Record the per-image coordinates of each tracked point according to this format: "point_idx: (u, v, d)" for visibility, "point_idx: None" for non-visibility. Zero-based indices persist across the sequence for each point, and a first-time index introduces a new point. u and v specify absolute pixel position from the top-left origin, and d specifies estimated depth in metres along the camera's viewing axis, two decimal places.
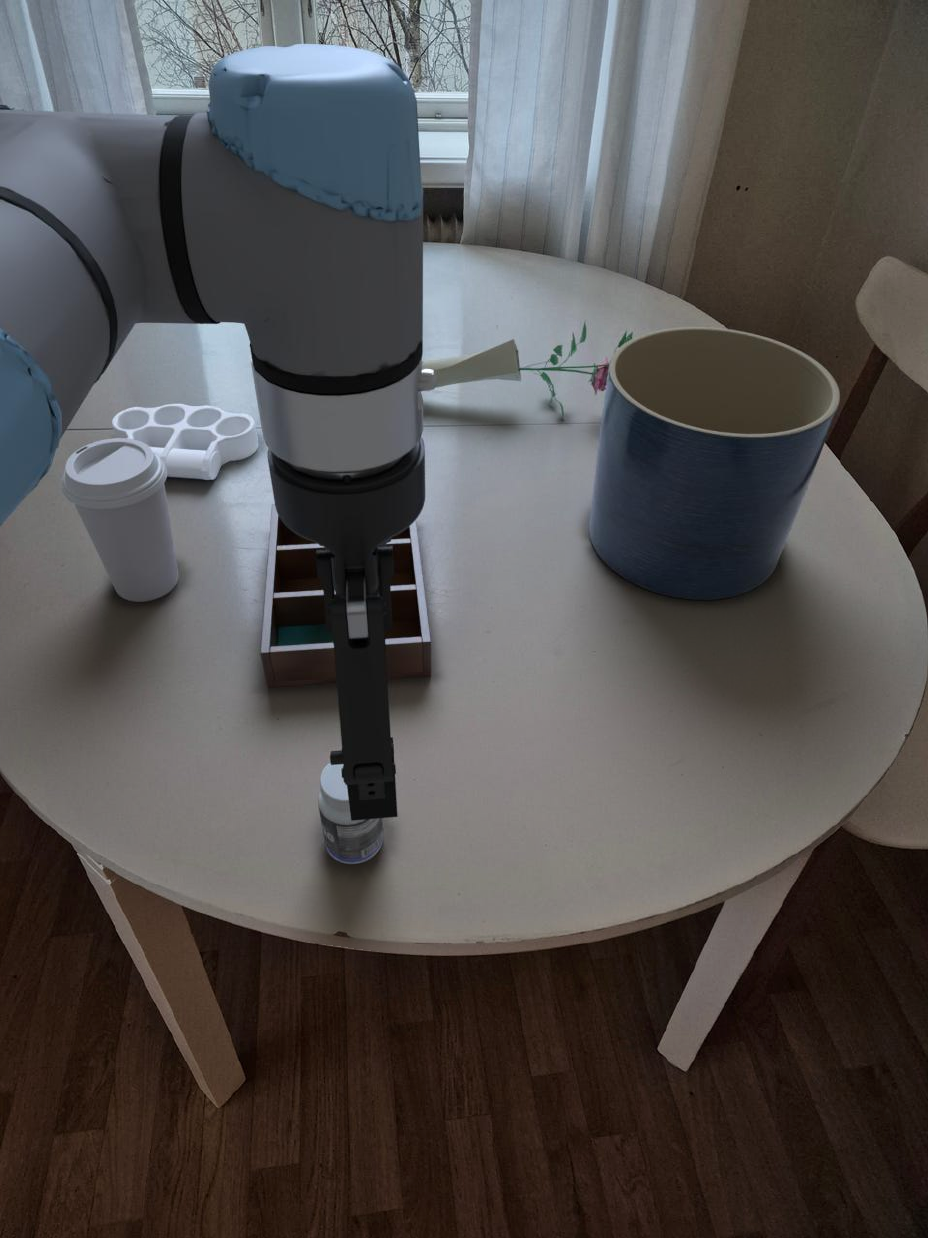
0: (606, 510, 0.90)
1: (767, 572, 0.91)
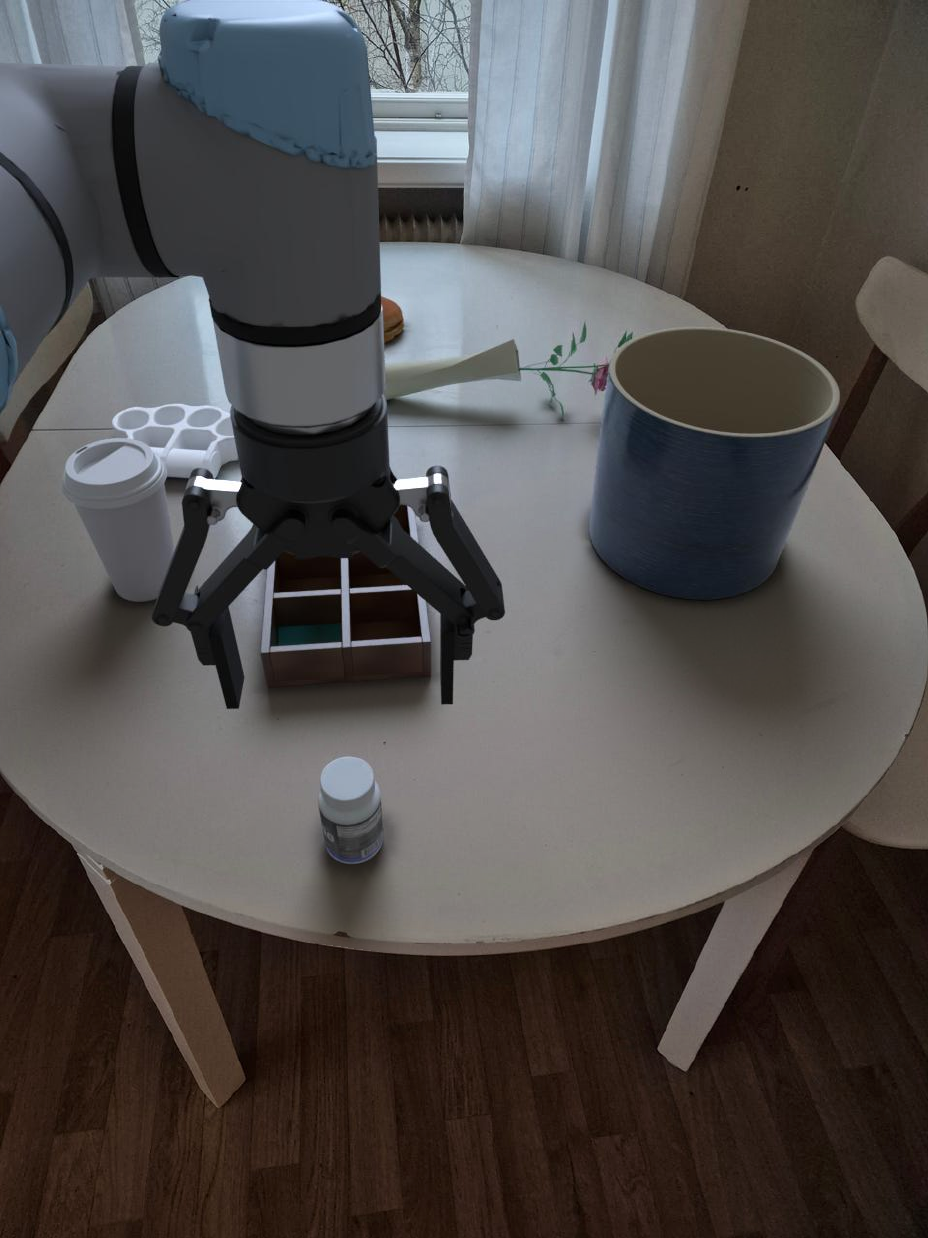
0: (606, 510, 0.90)
1: (767, 572, 0.91)
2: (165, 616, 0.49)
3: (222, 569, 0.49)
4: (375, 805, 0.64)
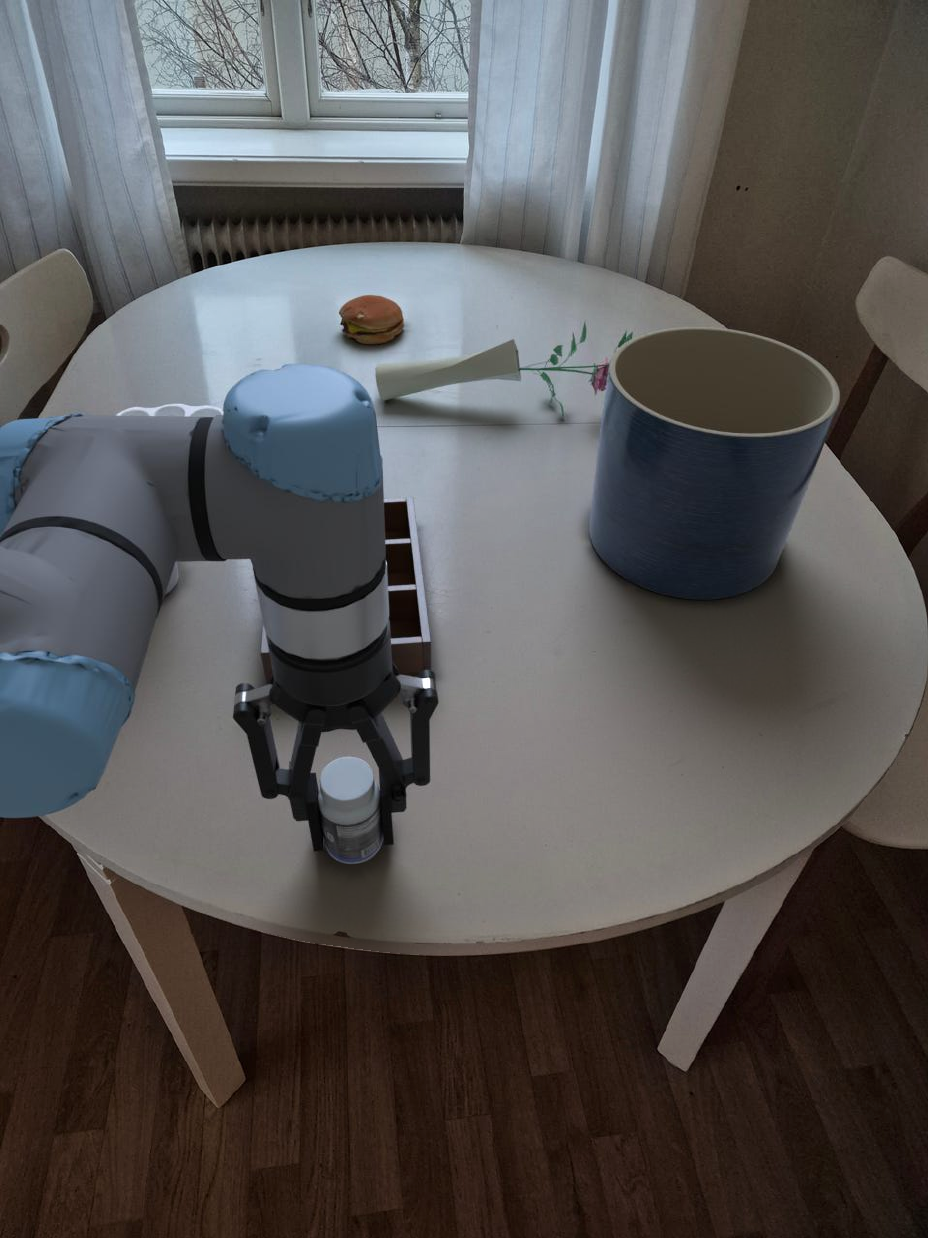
0: (606, 510, 0.90)
1: (767, 572, 0.91)
2: (270, 792, 0.61)
3: (294, 750, 0.61)
4: (375, 805, 0.64)
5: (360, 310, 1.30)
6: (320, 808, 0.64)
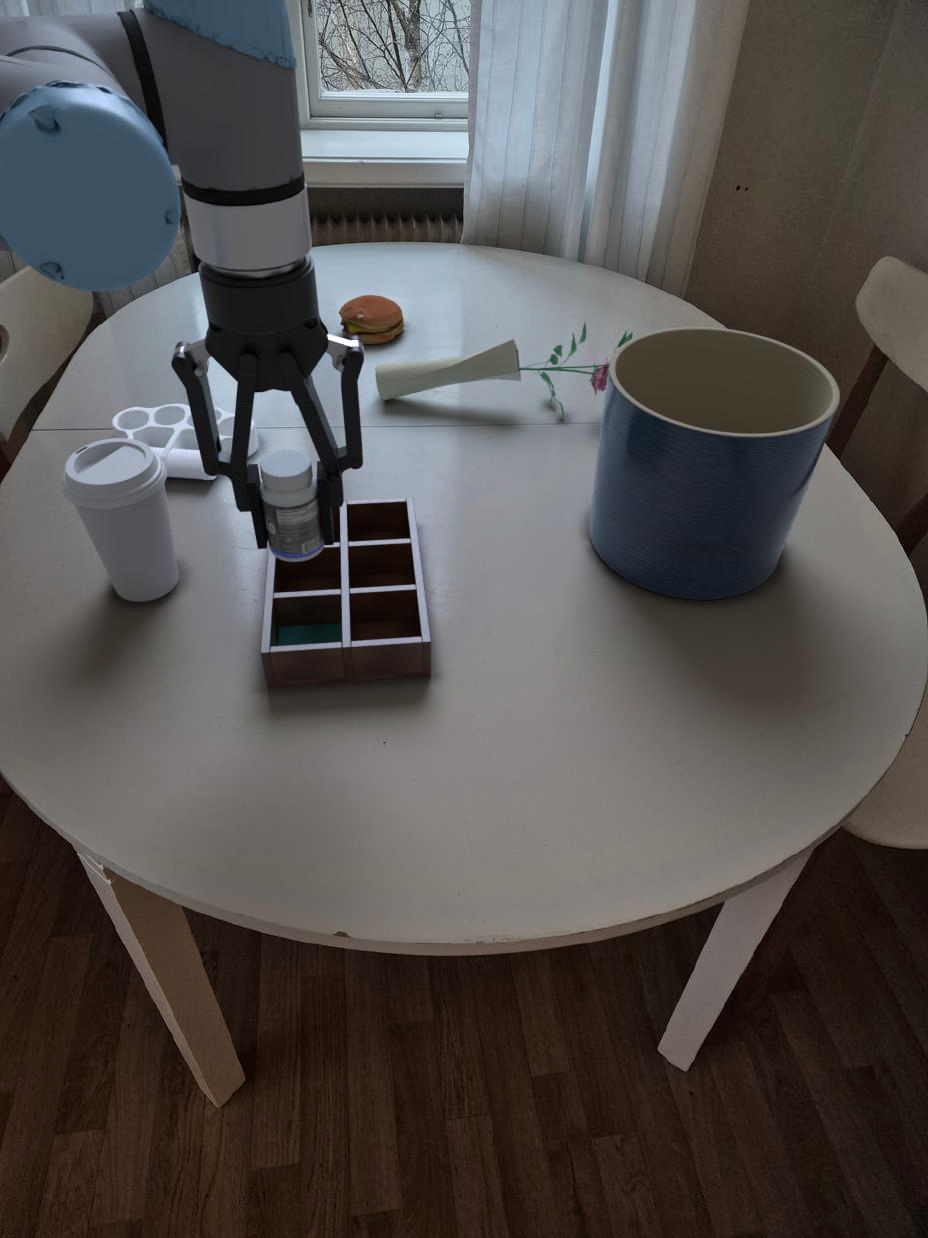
0: (606, 510, 0.90)
1: (767, 572, 0.91)
2: (212, 466, 0.65)
3: None
4: (313, 492, 0.68)
5: (360, 310, 1.30)
6: (261, 494, 0.68)
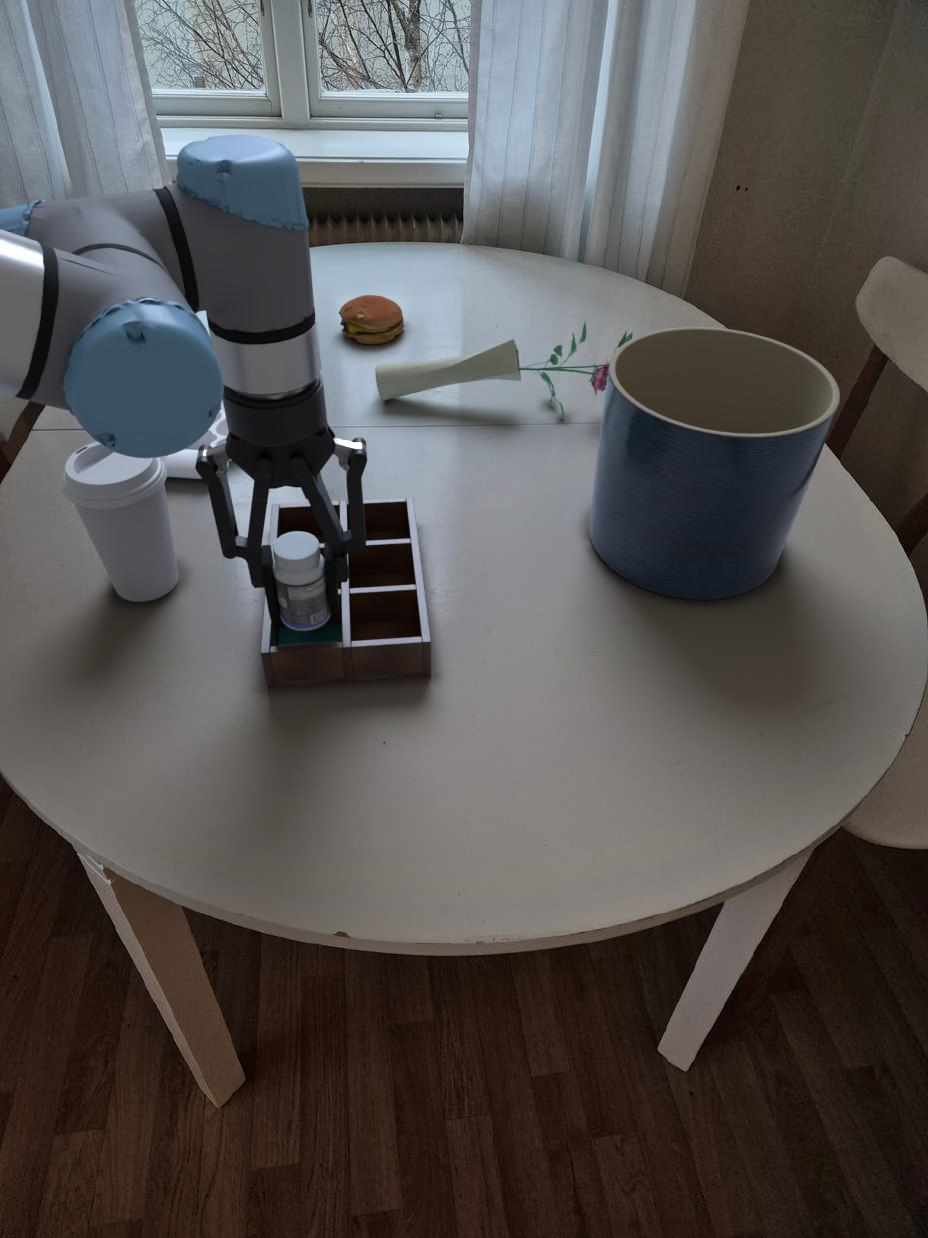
0: (606, 510, 0.90)
1: (767, 572, 0.91)
2: (230, 551, 0.72)
3: None
4: (320, 571, 0.75)
5: (360, 310, 1.30)
6: (274, 573, 0.75)
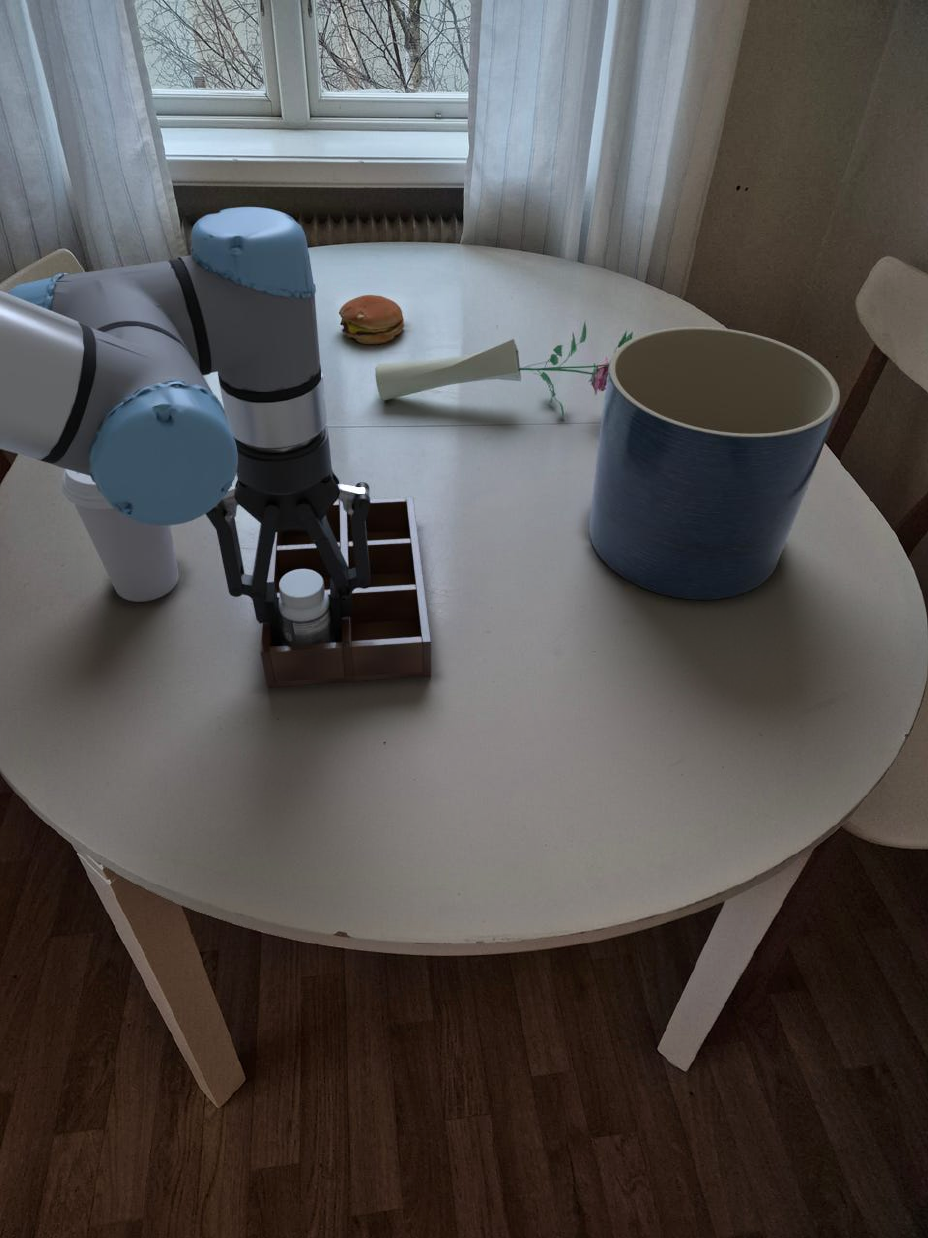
0: (606, 510, 0.90)
1: (767, 572, 0.91)
2: (236, 589, 0.75)
3: (256, 554, 0.75)
4: (325, 607, 0.78)
5: (360, 310, 1.30)
6: (280, 609, 0.78)
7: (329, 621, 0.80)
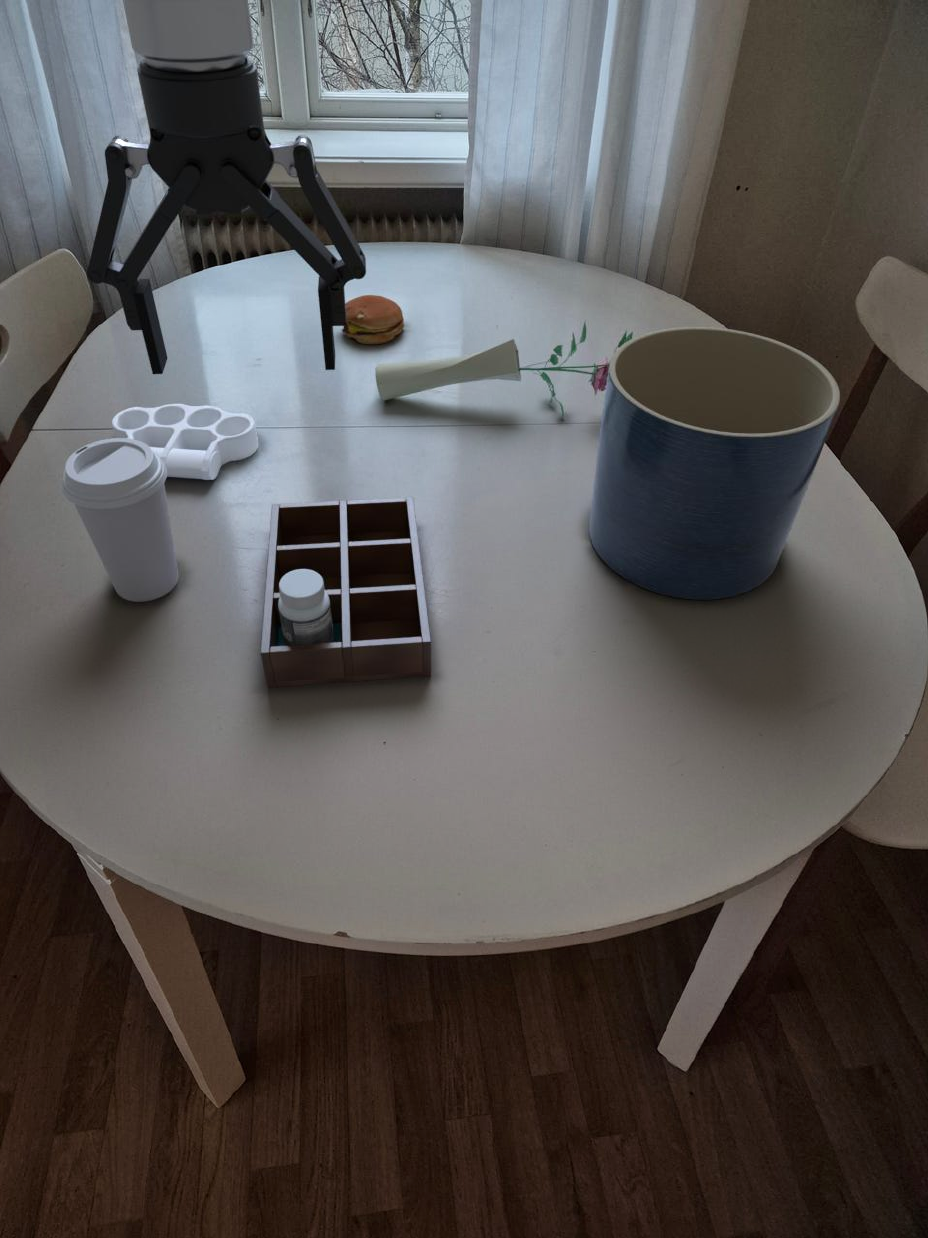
0: (606, 510, 0.90)
1: (767, 572, 0.91)
2: (97, 272, 0.63)
3: (141, 233, 0.63)
4: (325, 607, 0.78)
5: (360, 310, 1.30)
6: (280, 609, 0.78)
7: (329, 621, 0.80)
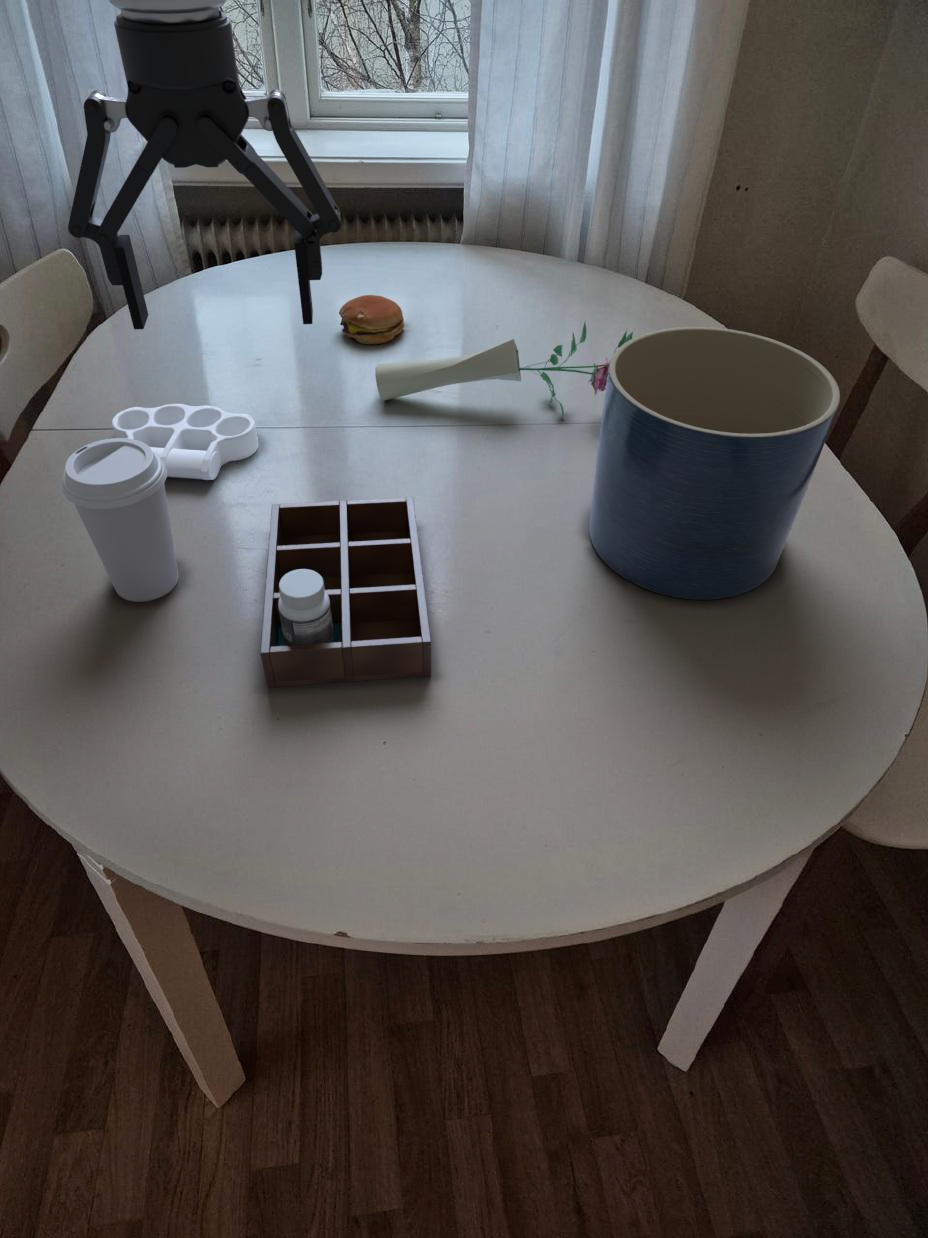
0: (606, 510, 0.90)
1: (767, 572, 0.91)
2: (78, 226, 0.64)
3: None
4: (325, 607, 0.78)
5: (360, 310, 1.30)
6: (280, 609, 0.78)
7: (329, 621, 0.80)
